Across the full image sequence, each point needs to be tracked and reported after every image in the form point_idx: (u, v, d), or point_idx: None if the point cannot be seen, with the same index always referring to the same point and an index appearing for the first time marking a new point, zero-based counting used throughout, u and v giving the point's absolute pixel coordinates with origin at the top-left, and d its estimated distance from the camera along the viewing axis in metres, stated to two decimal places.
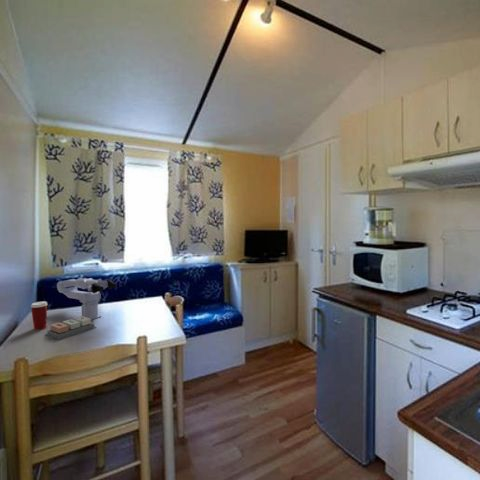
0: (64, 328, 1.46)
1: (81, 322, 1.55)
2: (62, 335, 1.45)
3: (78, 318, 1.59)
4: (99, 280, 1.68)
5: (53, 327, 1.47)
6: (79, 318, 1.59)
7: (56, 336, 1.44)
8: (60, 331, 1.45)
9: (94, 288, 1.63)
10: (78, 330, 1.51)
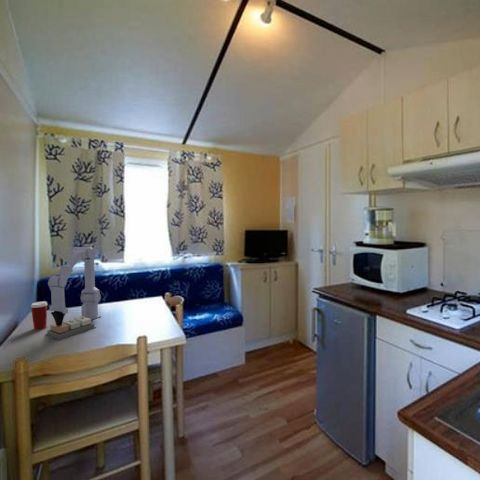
0: (64, 328, 1.46)
1: (81, 322, 1.55)
2: (62, 335, 1.45)
3: (78, 318, 1.59)
4: None
5: (53, 327, 1.47)
6: (79, 318, 1.59)
7: (56, 336, 1.44)
8: (60, 331, 1.45)
9: None
10: (78, 330, 1.51)
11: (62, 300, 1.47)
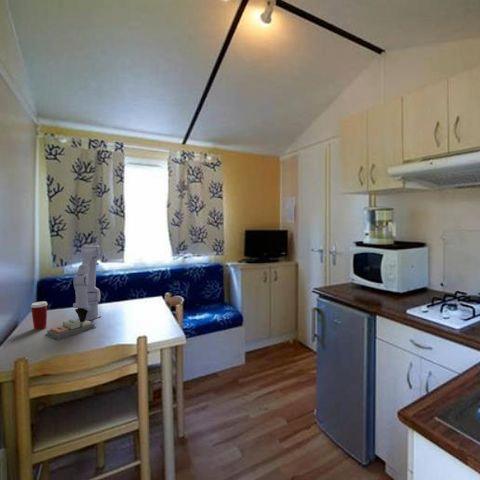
0: (64, 331, 1.46)
1: (81, 325, 1.55)
2: (62, 335, 1.45)
3: (78, 320, 1.60)
4: None
5: (53, 330, 1.47)
6: (79, 321, 1.59)
7: (56, 336, 1.44)
8: None
9: None
10: (78, 330, 1.51)
11: (85, 298, 1.57)
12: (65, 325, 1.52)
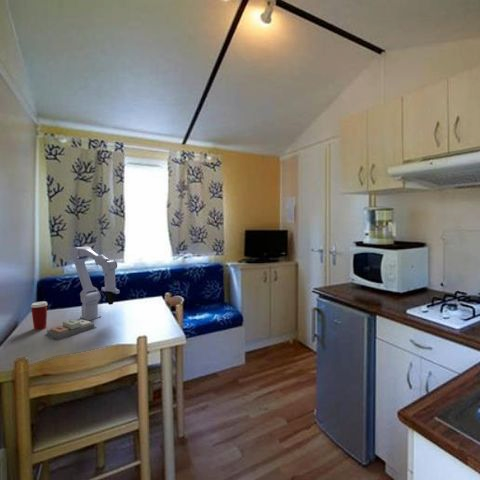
0: (64, 331, 1.46)
1: (81, 325, 1.55)
2: (62, 335, 1.45)
3: (78, 321, 1.60)
4: (104, 290, 1.64)
5: (53, 330, 1.47)
6: (79, 321, 1.59)
7: (56, 336, 1.44)
8: None
9: None
10: (78, 330, 1.51)
11: (114, 282, 1.66)
12: (65, 325, 1.52)
